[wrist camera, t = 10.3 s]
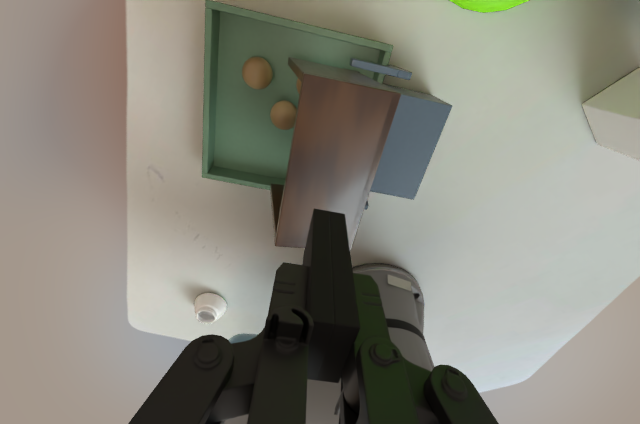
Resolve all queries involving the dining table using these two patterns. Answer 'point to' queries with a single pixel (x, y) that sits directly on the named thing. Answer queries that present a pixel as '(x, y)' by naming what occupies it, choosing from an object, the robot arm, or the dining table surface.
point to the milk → (617, 116)
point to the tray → (255, 105)
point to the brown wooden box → (331, 149)
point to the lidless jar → (209, 307)
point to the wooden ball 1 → (257, 73)
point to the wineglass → (487, 4)
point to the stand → (407, 136)
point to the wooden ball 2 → (283, 115)
